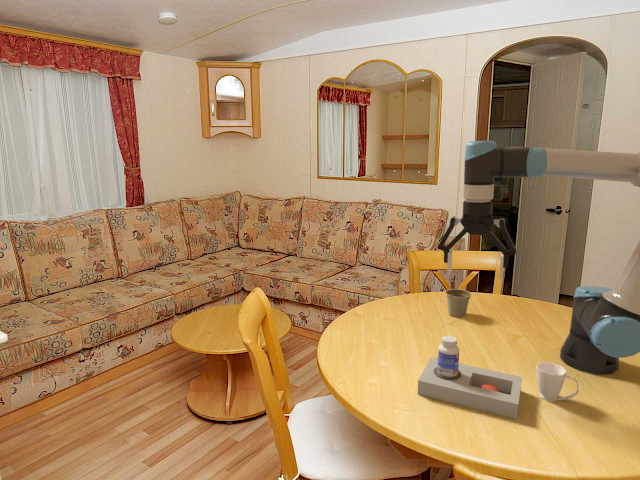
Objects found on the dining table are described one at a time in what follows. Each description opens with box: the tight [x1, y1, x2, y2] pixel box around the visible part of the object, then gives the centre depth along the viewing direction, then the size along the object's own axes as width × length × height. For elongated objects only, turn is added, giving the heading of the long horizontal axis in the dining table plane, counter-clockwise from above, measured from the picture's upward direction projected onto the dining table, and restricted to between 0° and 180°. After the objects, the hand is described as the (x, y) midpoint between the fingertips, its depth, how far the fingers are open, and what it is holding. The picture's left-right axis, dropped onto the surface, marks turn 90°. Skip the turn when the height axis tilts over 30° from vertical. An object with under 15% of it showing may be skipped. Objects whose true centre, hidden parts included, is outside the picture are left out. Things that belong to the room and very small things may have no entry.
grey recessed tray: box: [417, 356, 523, 420], centre depth 118 cm, size 24×14×4 cm, turn 63°
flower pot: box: [444, 288, 472, 318], centre depth 169 cm, size 9×9×9 cm
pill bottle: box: [437, 335, 460, 377], centre depth 119 cm, size 5×5×10 cm
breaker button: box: [481, 384, 499, 392], centre depth 116 cm, size 4×4×2 cm
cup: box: [535, 361, 579, 402], centre depth 115 cm, size 7×10×8 cm
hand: (474, 276), depth 124 cm, fingers open, 13 cm apart
